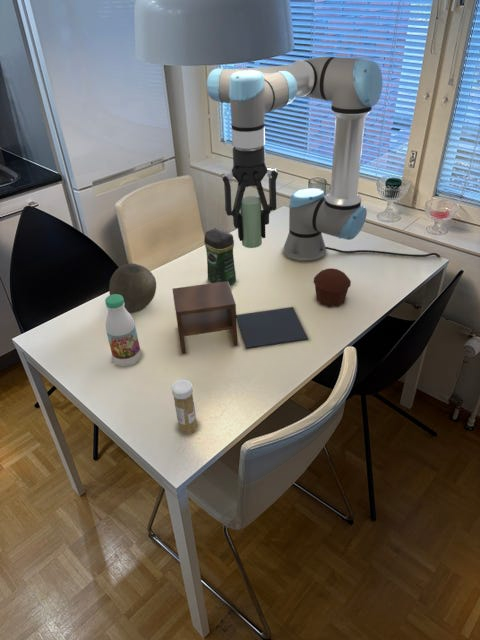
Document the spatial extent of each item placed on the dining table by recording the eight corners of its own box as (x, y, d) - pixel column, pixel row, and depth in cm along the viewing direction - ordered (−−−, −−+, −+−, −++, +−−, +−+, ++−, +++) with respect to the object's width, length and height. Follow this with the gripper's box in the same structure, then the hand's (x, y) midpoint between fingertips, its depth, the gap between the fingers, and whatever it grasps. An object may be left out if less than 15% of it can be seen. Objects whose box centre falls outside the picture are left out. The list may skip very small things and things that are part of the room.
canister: (259, 237, 131) (258, 194, 124) (263, 246, 127) (262, 202, 120) (240, 240, 130) (238, 197, 123) (243, 249, 126) (241, 205, 119)
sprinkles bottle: (200, 431, 115) (194, 389, 107) (181, 437, 114) (174, 395, 106) (194, 417, 118) (189, 376, 110) (176, 423, 117) (169, 381, 109)
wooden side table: (230, 321, 149) (228, 280, 141) (237, 345, 140) (235, 304, 131) (178, 328, 147) (172, 288, 139) (181, 354, 138) (175, 312, 129)
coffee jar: (240, 282, 167) (238, 232, 156) (222, 291, 163) (219, 241, 152) (221, 272, 173) (218, 223, 162) (204, 281, 169) (199, 231, 158)
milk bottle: (110, 355, 139) (94, 295, 127) (136, 345, 142) (123, 287, 130) (118, 370, 133) (103, 310, 121) (145, 360, 136) (133, 300, 124)
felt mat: (292, 308, 153) (292, 306, 153) (307, 339, 141) (308, 338, 140) (236, 316, 151) (235, 315, 151) (246, 349, 138) (246, 347, 138)
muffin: (356, 300, 156) (359, 273, 150) (332, 314, 150) (334, 286, 144) (328, 285, 163) (330, 259, 157) (304, 298, 158) (306, 271, 152)
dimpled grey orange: (133, 327, 149) (124, 285, 140) (105, 310, 156) (95, 269, 148) (168, 306, 157) (161, 265, 148) (139, 291, 165) (131, 251, 156)
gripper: (283, 137, 118) (282, 226, 131) (207, 145, 115) (215, 234, 129) (291, 147, 112) (289, 239, 125) (211, 155, 110) (219, 248, 123)
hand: (251, 236), depth 127 cm, fingers closed on canister, 5 cm apart
